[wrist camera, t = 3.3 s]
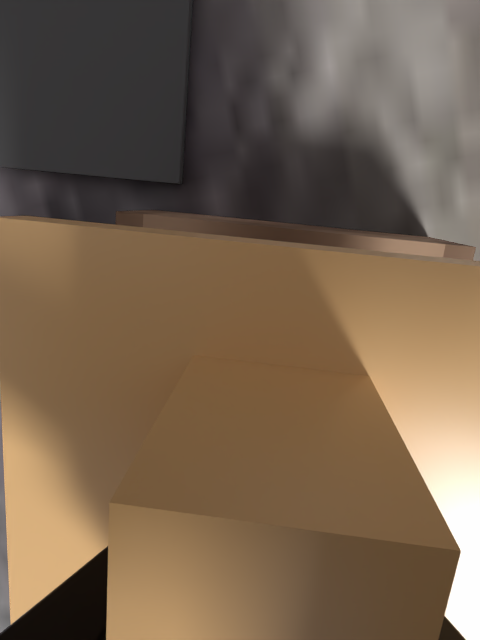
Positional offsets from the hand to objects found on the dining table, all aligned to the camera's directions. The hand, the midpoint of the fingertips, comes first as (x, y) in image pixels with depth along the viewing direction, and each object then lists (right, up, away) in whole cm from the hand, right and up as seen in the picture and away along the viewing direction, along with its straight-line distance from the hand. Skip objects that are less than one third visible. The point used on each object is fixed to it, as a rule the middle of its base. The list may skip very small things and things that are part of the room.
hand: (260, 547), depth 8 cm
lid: (0, +1, +3) cm, 3 cm away
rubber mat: (-7, +14, +8) cm, 17 cm away
